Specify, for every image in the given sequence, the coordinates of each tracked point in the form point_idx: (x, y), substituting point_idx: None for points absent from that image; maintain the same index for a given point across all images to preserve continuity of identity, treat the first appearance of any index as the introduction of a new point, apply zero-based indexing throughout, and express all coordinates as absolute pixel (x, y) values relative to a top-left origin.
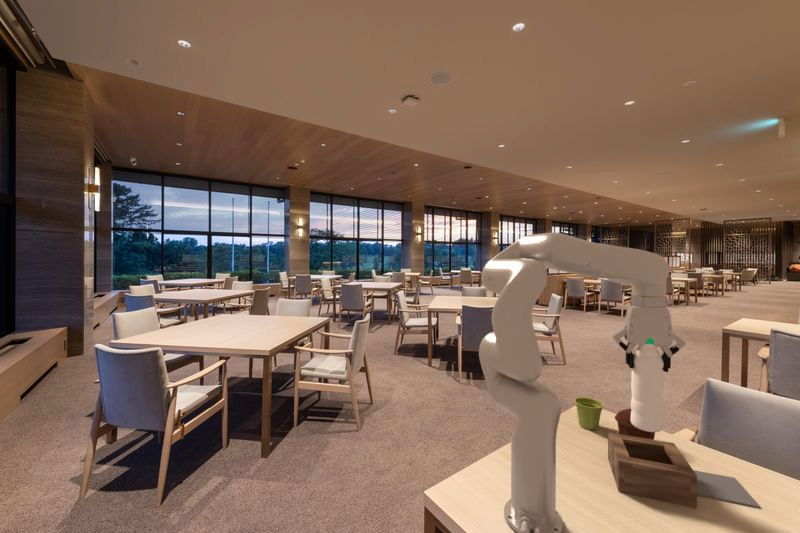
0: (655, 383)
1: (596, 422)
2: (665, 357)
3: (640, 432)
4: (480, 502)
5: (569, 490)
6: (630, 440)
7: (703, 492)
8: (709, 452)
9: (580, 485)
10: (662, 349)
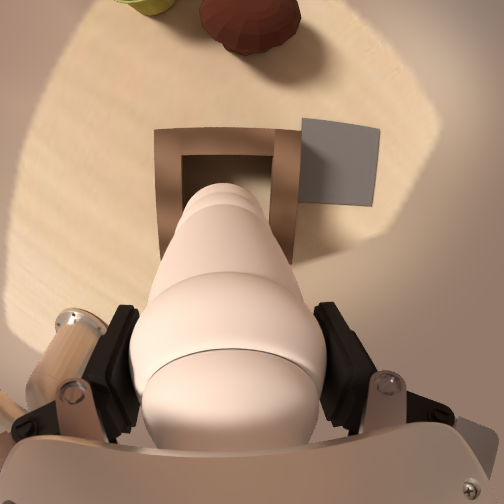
0: (244, 349)
1: (165, 4)
2: (331, 420)
3: (250, 50)
4: (37, 323)
5: (105, 266)
6: (200, 154)
7: (309, 194)
8: (377, 44)
9: (117, 247)
10: (362, 420)
